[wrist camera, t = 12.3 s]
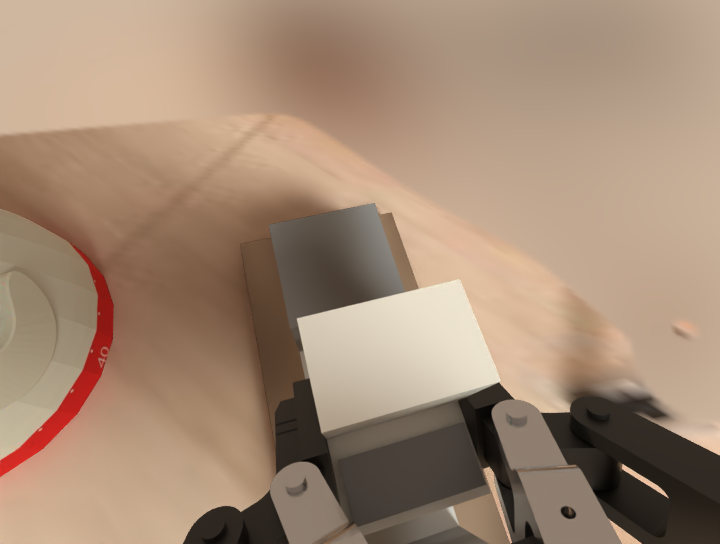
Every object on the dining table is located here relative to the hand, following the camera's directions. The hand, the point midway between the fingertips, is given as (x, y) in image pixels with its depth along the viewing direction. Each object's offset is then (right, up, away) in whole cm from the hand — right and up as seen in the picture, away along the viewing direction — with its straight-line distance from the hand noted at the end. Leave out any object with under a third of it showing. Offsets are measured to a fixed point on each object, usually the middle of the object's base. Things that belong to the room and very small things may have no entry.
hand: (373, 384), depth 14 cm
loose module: (0, -3, +3) cm, 4 cm away
